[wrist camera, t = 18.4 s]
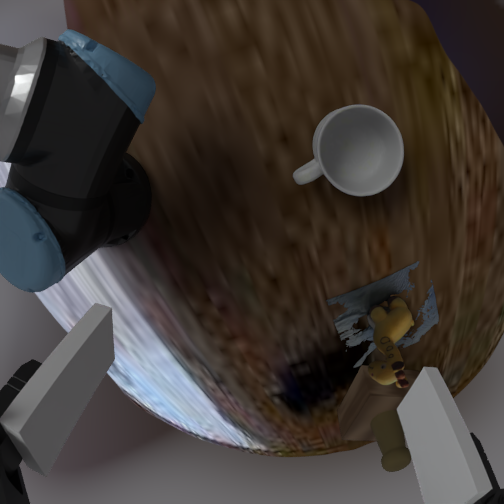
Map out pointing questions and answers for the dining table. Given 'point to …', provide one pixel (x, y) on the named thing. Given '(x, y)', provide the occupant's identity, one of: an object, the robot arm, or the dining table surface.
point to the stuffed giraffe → (384, 323)
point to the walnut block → (369, 403)
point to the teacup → (355, 151)
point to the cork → (391, 440)
